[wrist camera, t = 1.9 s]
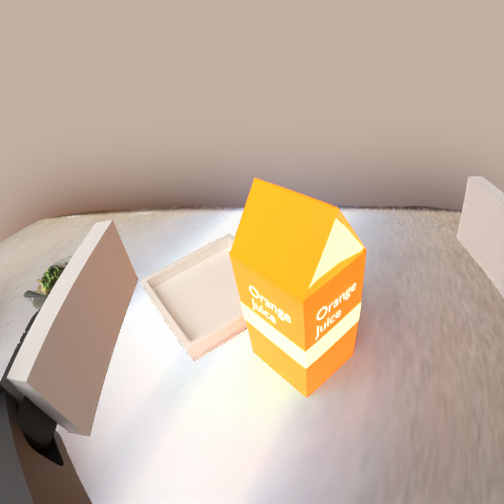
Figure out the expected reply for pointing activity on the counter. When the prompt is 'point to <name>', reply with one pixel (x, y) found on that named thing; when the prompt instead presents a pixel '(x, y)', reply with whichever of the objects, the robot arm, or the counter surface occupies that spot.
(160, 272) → the tray
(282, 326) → the orange juice
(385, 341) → the counter surface
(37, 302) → the salad plate
